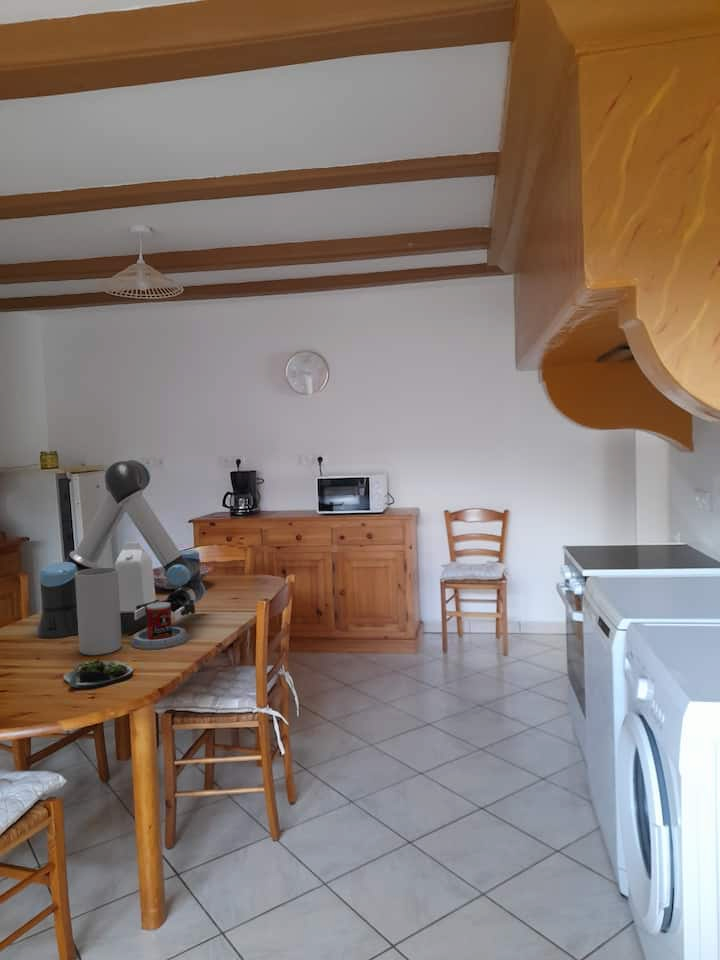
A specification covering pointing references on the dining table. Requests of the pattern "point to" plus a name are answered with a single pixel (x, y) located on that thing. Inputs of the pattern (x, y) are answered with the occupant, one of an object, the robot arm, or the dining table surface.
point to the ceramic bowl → (161, 578)
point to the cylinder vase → (98, 611)
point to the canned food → (159, 620)
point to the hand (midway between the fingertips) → (155, 615)
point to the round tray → (159, 640)
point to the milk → (135, 577)
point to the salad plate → (97, 674)
